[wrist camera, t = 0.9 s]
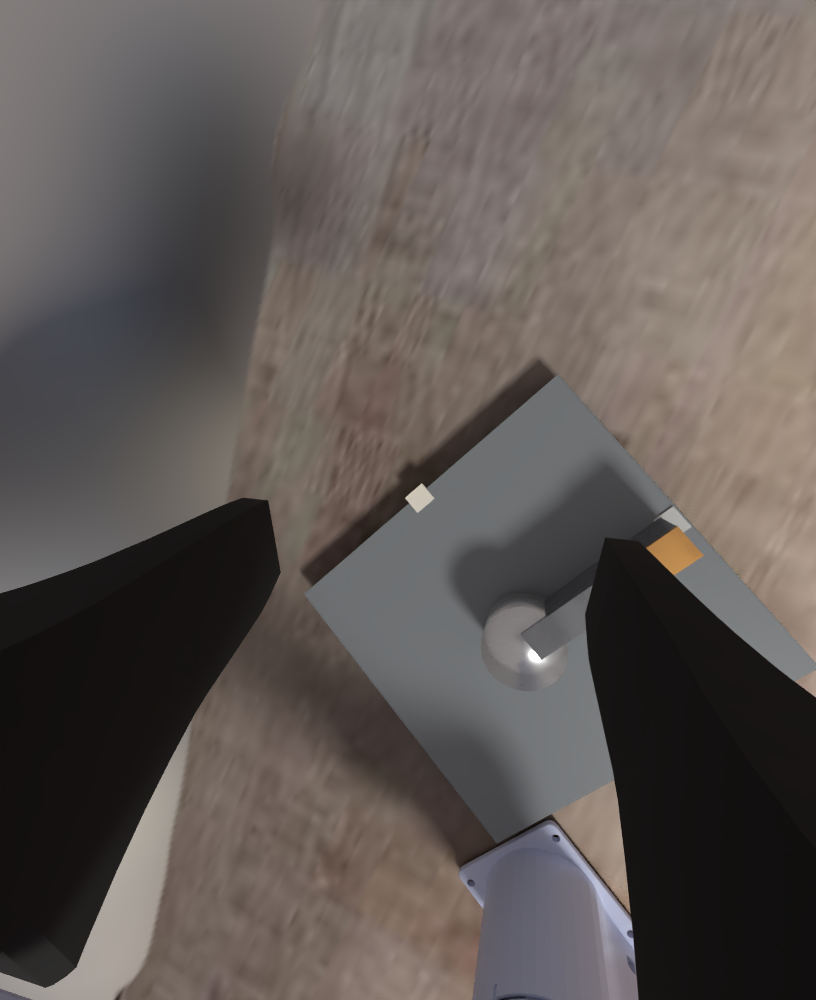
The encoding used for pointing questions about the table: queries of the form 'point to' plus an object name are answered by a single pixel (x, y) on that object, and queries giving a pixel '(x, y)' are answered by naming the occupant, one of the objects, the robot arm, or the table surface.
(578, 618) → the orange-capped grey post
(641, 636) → the robot arm
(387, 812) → the table surface
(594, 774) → the board
